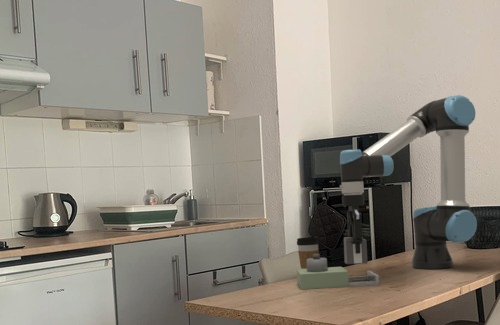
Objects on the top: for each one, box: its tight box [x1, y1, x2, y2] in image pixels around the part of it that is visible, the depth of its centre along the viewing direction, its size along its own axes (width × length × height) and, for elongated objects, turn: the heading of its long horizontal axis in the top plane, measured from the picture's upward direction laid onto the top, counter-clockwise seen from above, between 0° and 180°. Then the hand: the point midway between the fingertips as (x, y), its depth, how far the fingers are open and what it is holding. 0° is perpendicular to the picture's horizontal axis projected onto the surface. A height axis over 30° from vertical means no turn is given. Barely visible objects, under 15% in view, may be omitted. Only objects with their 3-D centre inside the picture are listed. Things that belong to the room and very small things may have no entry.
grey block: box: [343, 236, 369, 265], centre depth 194 cm, size 7×4×9 cm, turn 91°
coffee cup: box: [296, 236, 320, 269], centre depth 212 cm, size 8×8×15 cm
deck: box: [296, 253, 350, 291], centre depth 193 cm, size 16×12×11 cm
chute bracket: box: [348, 270, 381, 288], centre depth 193 cm, size 10×13×3 cm
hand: (356, 261), depth 193 cm, fingers closed on grey block, 5 cm apart
